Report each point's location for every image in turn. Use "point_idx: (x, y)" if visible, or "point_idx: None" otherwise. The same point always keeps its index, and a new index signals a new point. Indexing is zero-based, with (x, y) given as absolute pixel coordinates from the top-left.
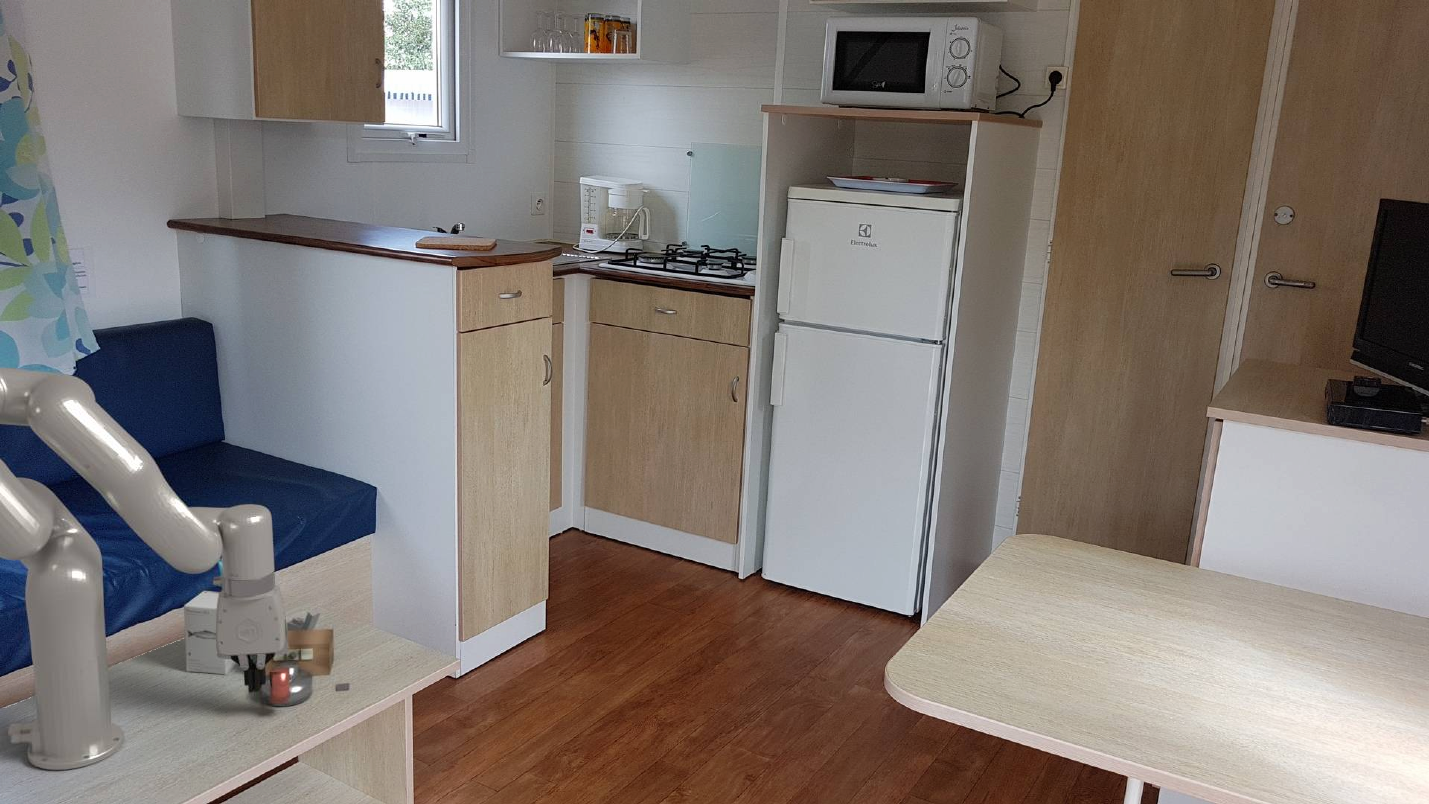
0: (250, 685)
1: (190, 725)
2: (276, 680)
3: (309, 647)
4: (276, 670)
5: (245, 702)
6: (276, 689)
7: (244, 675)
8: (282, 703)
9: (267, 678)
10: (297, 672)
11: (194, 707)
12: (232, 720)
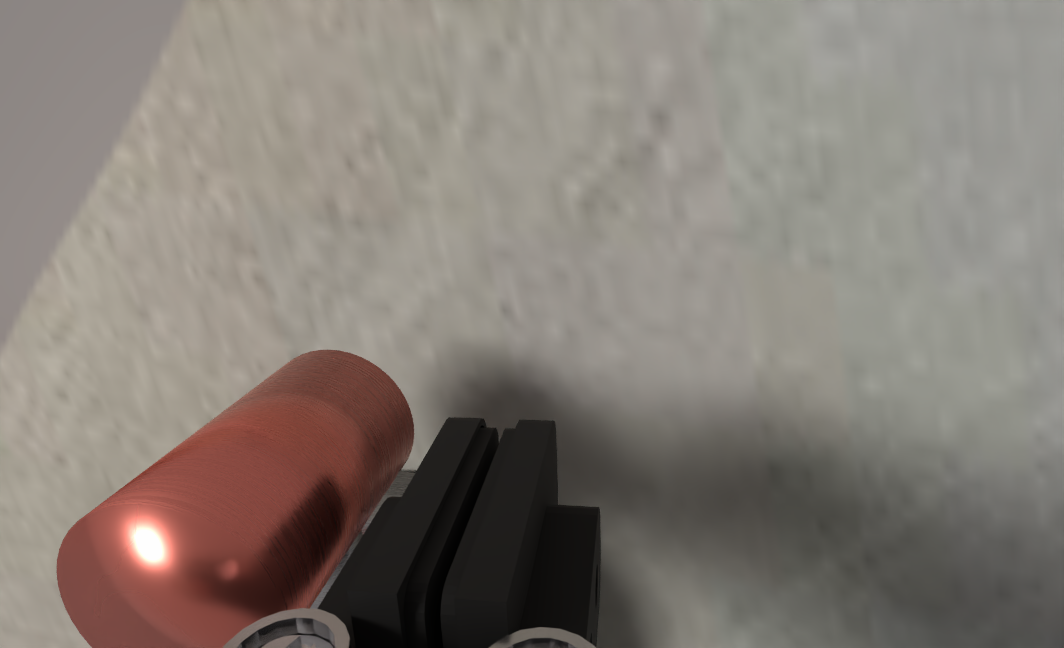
0: (515, 456)
1: (1036, 310)
2: (206, 463)
3: None
4: (201, 620)
5: (663, 569)
6: (275, 412)
7: (584, 591)
8: (402, 484)
9: None
10: None
11: (1016, 566)
12: (713, 345)
